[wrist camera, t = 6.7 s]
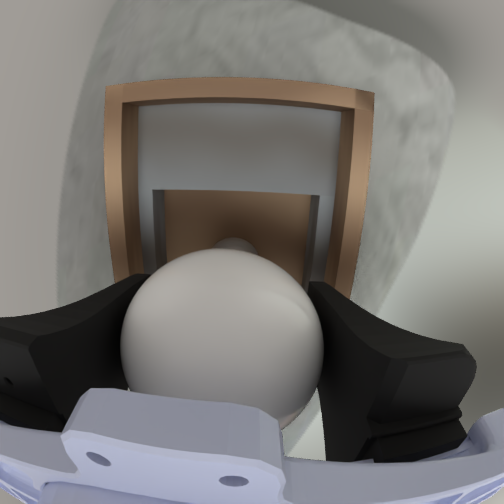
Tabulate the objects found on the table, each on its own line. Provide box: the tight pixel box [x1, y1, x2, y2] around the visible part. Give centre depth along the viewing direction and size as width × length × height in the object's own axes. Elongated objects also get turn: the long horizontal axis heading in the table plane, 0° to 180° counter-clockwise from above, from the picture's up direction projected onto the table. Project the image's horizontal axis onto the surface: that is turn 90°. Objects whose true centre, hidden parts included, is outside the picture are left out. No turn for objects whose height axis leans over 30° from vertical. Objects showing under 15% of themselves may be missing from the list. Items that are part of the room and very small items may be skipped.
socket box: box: [104, 77, 374, 299], centre depth 14 cm, size 14×11×4 cm
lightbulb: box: [120, 237, 324, 430], centre depth 11 cm, size 6×6×11 cm
